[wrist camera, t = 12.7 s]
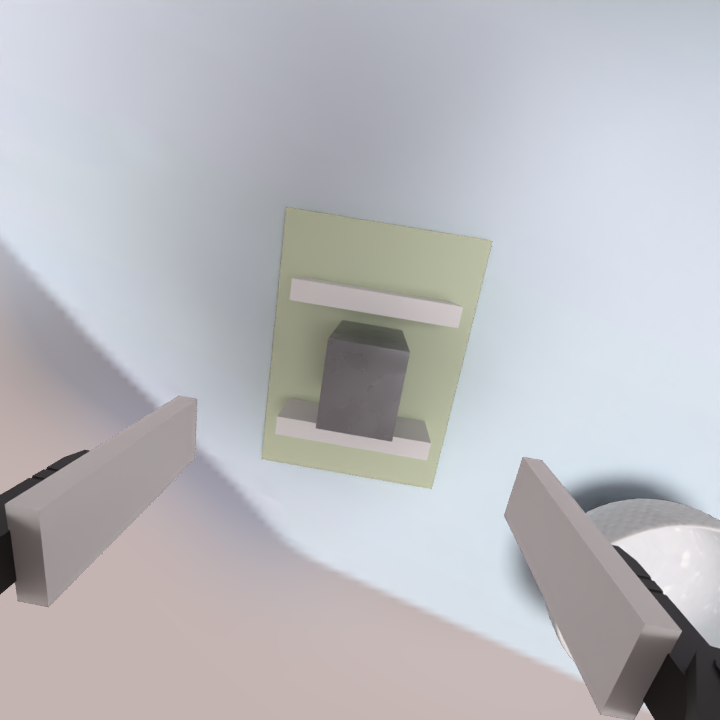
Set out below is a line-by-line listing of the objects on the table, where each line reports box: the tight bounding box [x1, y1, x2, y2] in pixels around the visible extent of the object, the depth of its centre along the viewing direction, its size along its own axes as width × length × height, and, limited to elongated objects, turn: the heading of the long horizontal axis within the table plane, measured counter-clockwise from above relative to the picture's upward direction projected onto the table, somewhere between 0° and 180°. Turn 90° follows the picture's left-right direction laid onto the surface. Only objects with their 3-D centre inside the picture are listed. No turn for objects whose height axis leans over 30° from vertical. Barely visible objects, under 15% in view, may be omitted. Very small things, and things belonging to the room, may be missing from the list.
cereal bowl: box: [545, 498, 720, 662], centre depth 31 cm, size 17×17×7 cm
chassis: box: [262, 207, 493, 489], centre depth 28 cm, size 22×16×6 cm
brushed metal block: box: [316, 320, 410, 442], centre depth 25 cm, size 6×5×8 cm
